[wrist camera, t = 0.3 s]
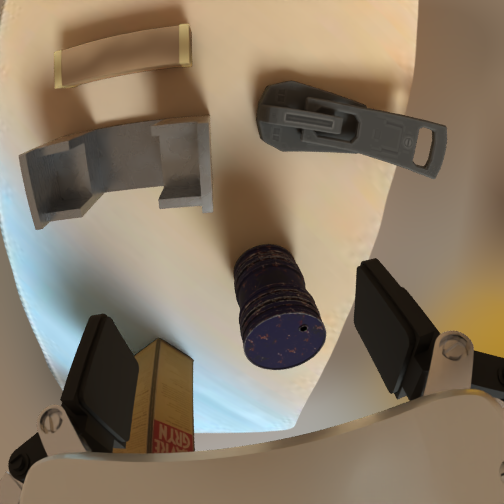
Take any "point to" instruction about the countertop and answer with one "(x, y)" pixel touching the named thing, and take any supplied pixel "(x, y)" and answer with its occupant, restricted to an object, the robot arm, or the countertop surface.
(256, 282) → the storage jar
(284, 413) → the countertop surface
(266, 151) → the countertop surface
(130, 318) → the countertop surface
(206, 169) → the grey cradle stand
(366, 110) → the zipper pull
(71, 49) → the brown rectangular block
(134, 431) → the food packaging
